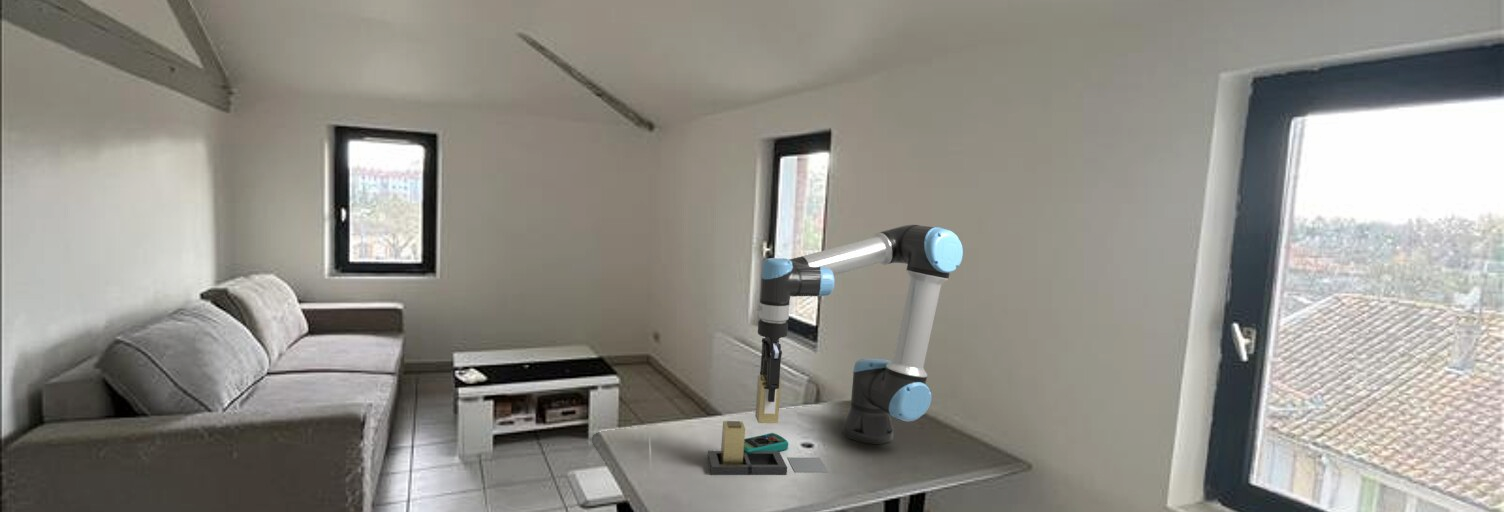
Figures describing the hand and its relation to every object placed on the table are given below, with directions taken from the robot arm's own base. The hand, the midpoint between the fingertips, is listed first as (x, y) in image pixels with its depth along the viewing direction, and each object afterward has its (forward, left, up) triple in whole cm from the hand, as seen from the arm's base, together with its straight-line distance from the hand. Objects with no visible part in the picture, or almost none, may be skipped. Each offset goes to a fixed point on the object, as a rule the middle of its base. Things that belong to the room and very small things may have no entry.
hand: (767, 409), depth 173 cm
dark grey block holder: (+4, 0, -16) cm, 16 cm away
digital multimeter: (-1, -10, -15) cm, 19 cm away
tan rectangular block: (0, 0, -3) cm, 3 cm away
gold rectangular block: (+8, 0, -15) cm, 17 cm away
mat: (-12, -1, -16) cm, 20 cm away
